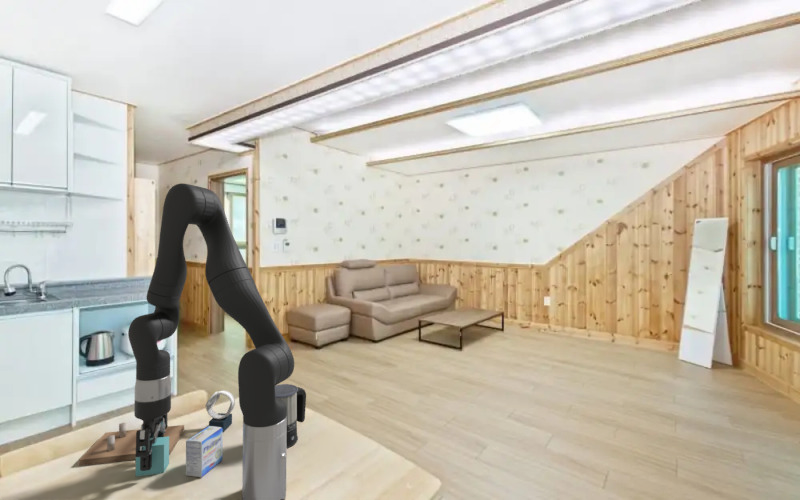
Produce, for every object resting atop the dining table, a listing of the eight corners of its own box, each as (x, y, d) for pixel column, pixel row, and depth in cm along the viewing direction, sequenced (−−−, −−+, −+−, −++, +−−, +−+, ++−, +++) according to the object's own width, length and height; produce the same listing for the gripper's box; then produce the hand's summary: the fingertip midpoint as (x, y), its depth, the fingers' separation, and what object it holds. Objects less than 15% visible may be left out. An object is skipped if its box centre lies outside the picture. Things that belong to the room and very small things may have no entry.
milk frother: (288, 452, 103) (289, 397, 103) (234, 446, 106) (235, 393, 105) (309, 427, 117) (310, 379, 117) (261, 422, 120) (262, 375, 119)
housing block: (169, 463, 97) (169, 436, 97) (163, 473, 93) (164, 444, 93) (141, 467, 95) (142, 439, 95) (135, 476, 92) (135, 447, 91)
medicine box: (201, 478, 91) (201, 442, 91) (185, 476, 92) (185, 440, 92) (223, 460, 99) (223, 426, 99) (207, 457, 100) (208, 424, 100)
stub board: (184, 429, 114) (184, 413, 114) (169, 455, 101) (169, 436, 100) (105, 437, 109) (105, 420, 109) (78, 465, 95) (78, 446, 95)
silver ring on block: (211, 423, 119) (212, 387, 118) (237, 423, 118) (237, 388, 118) (202, 432, 113) (202, 395, 113) (229, 432, 113) (229, 395, 113)
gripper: (160, 405, 88) (160, 474, 88) (178, 382, 102) (178, 443, 102) (122, 408, 86) (122, 479, 86) (146, 384, 100) (145, 446, 100)
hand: (152, 459), depth 94 cm, fingers open, 8 cm apart
